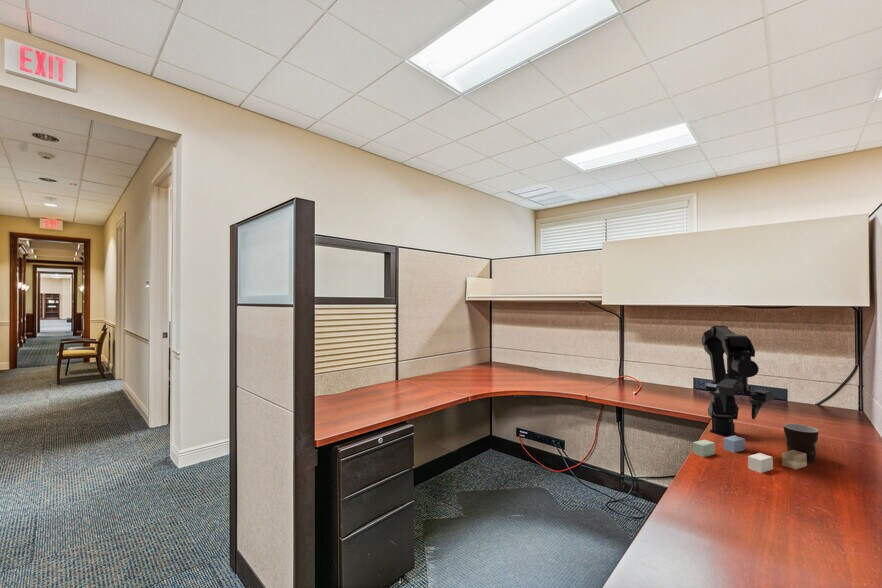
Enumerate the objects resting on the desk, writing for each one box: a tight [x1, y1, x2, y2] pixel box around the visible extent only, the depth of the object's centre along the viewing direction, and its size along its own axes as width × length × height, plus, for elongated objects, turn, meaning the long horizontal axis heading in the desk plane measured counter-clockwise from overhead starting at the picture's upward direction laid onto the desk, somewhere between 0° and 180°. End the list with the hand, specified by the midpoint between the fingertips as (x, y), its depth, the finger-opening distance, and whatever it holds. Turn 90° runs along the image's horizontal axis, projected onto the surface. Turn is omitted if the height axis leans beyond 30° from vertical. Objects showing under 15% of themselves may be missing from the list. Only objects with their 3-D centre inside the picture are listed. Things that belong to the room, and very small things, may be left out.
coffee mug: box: [782, 423, 820, 463], centre depth 130 cm, size 12×9×10 cm
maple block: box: [781, 450, 808, 470], centre depth 124 cm, size 4×6×4 cm, turn 112°
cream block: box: [747, 452, 774, 474], centre depth 122 cm, size 4×6×4 cm, turn 112°
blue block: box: [722, 435, 746, 453], centre depth 138 cm, size 4×6×4 cm, turn 112°
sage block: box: [692, 439, 716, 458], centre depth 134 cm, size 4×6×4 cm, turn 112°
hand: (738, 415), depth 137 cm, fingers open, 9 cm apart
